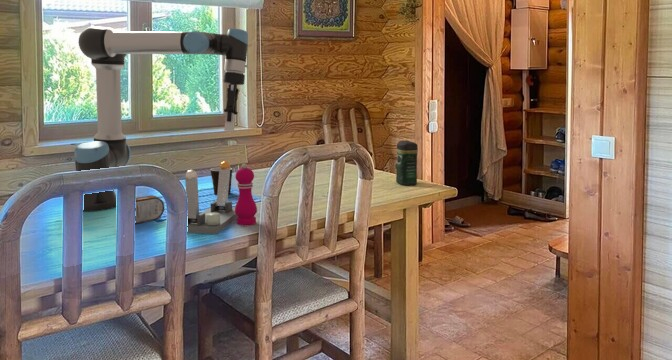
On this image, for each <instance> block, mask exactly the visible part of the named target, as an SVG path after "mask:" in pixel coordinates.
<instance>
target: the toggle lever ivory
mask: <svg viewBox="0 0 672 360" xmlns="http://www.w3.org/2000/svg"><path fill="white" fill-rule="evenodd" d="M184 177H185V178H184V179H185V180H184V181H185V182H184V183H185V195H186V194H187V198H188V223H197V216H198V215H199V214H200V204H199V203H200V200H199V199H200V198H199V185H198V184H199V182H198V181H199V180H198V174H197V172H196V171H195V170H193V169H189V170H187V171H185V176H184Z"/></svg>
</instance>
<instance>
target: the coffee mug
mask: <svg viewBox="0 0 672 360" xmlns="http://www.w3.org/2000/svg"><path fill="white" fill-rule="evenodd" d="M219 169H220V166H218V167H212V168H210V176H211V181H212V188H213V193H214V195H215V196H217V192H218V180H219ZM232 177H233V168H232V167H230V178H229V190H228V195H230V194H231V193H232V192H231V191H232V179H233V178H232Z"/></svg>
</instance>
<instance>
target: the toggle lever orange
mask: <svg viewBox="0 0 672 360" xmlns="http://www.w3.org/2000/svg"><path fill="white" fill-rule="evenodd" d="M219 167H220V169H219V180H218V192H217V195H216V201H217V203H216V205H218V206H216V210H219V211H225V204H226V203H228V202H229V201H228V199H229V194H228V190H229V178H230V168H231V164H230V162H228V161H227V160H226V161H225V160H224V161H222V162H220V165H219Z"/></svg>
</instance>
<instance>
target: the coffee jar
mask: <svg viewBox="0 0 672 360" xmlns="http://www.w3.org/2000/svg"><path fill="white" fill-rule="evenodd" d="M418 147H419V146H418V144H417V143H416V142H414V141H411V140H399V141H398V142H397V143H396V173H395V174H396V175H395V176H396V179H395V181H396V183H397V184H399V185H402V186H414V185H417V183H418Z"/></svg>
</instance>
